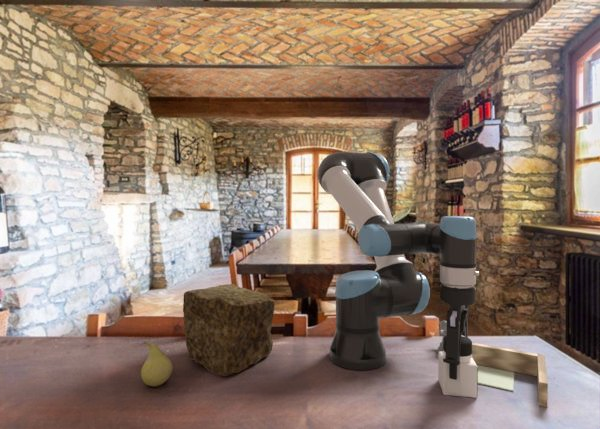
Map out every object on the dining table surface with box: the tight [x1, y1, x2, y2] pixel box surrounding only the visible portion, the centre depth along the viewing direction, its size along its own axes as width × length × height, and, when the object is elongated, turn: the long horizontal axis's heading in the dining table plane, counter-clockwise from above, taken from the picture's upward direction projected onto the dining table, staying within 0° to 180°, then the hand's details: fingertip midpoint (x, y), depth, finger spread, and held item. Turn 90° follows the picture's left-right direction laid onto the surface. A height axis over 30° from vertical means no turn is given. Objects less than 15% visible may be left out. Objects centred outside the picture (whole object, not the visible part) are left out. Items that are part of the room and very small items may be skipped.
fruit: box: [140, 340, 173, 388], centre depth 88 cm, size 7×8×12 cm
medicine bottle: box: [437, 335, 479, 399], centre depth 85 cm, size 7×7×12 cm
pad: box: [476, 364, 516, 392], centre depth 91 cm, size 10×10×1 cm
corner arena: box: [472, 342, 549, 408], centre depth 90 cm, size 21×16×5 cm
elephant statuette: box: [437, 320, 447, 352], centre depth 108 cm, size 9×12×8 cm
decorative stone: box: [182, 283, 275, 377], centre depth 102 cm, size 21×20×20 cm
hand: (457, 382), depth 85 cm, fingers closed on medicine bottle, 9 cm apart
